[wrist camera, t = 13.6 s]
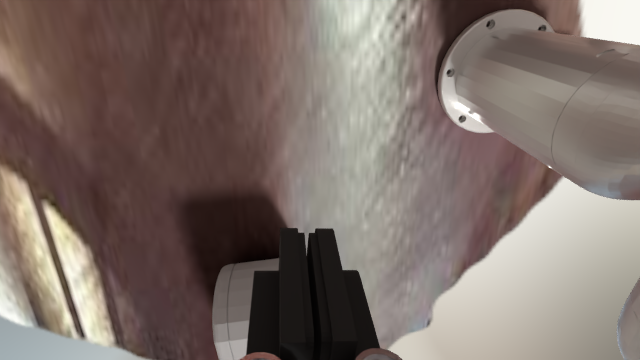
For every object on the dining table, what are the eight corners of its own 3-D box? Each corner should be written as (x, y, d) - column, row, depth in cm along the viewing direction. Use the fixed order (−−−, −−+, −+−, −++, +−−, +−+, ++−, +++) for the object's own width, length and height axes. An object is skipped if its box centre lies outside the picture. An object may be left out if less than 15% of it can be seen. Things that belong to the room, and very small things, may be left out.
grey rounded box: (223, 244, 44) (202, 335, 32) (296, 235, 44) (301, 322, 33) (250, 344, 54) (242, 441, 42) (309, 336, 54) (317, 430, 43)
